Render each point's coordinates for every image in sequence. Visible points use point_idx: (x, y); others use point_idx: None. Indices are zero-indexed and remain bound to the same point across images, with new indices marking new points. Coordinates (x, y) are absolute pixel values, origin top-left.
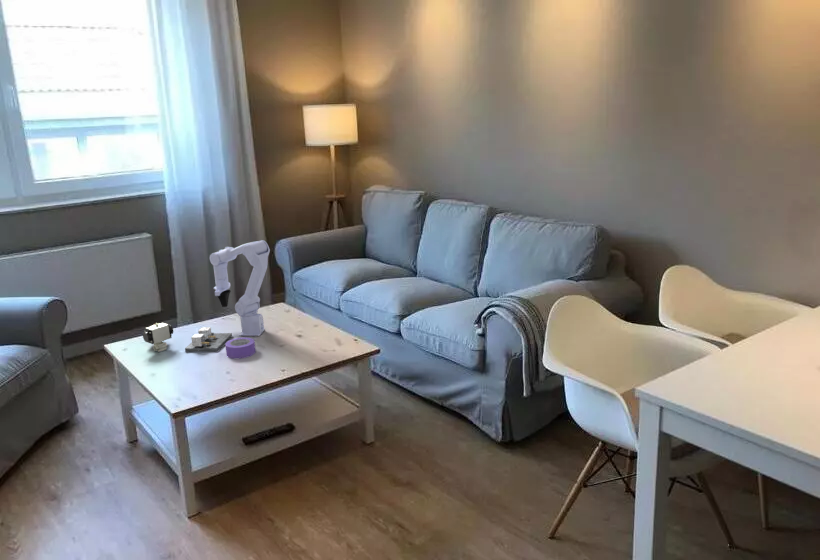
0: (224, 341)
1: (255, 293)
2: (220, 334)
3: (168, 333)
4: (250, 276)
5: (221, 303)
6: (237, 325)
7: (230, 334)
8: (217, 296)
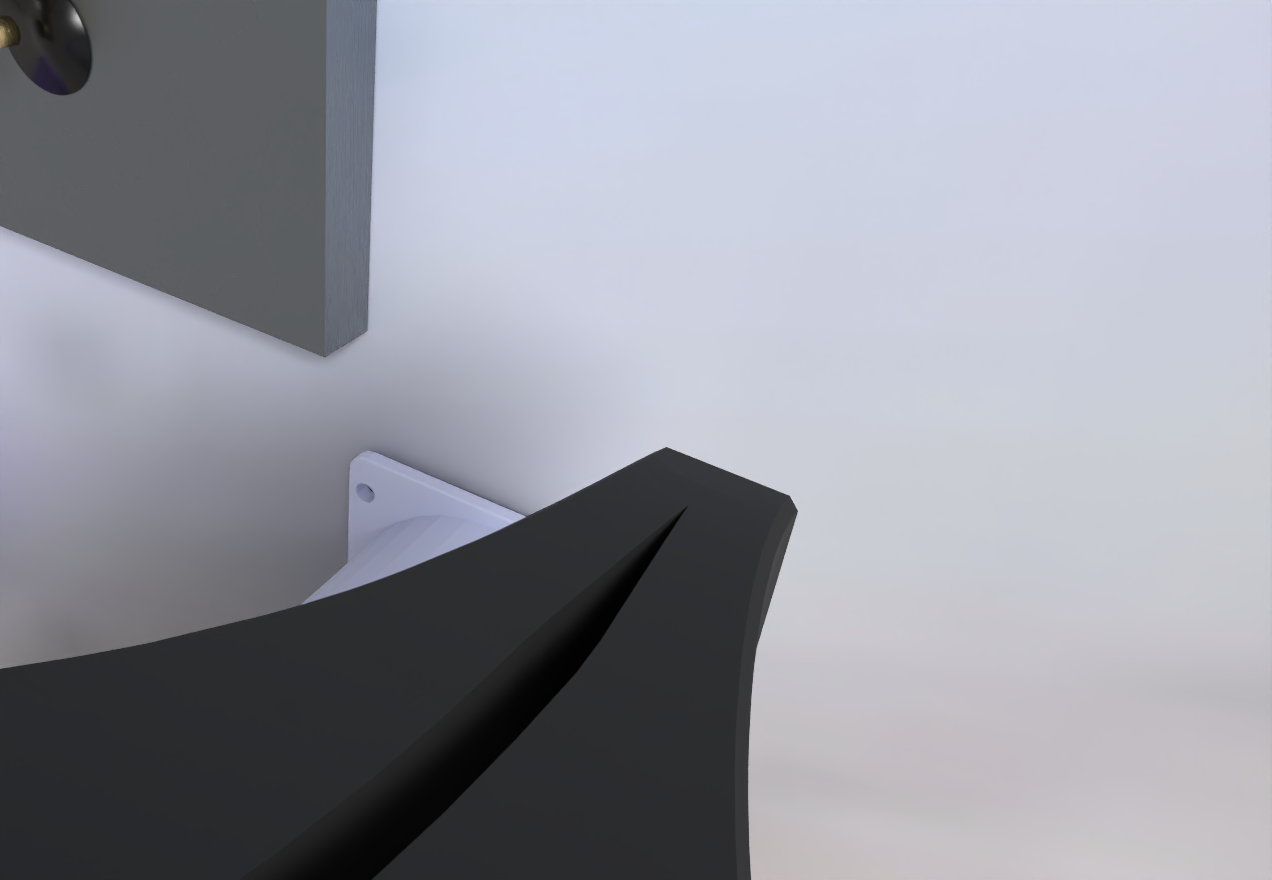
0: (9, 220)
1: None
2: (258, 123)
3: None
4: None
5: (546, 528)
6: (1053, 461)
7: (261, 328)
8: (11, 677)
